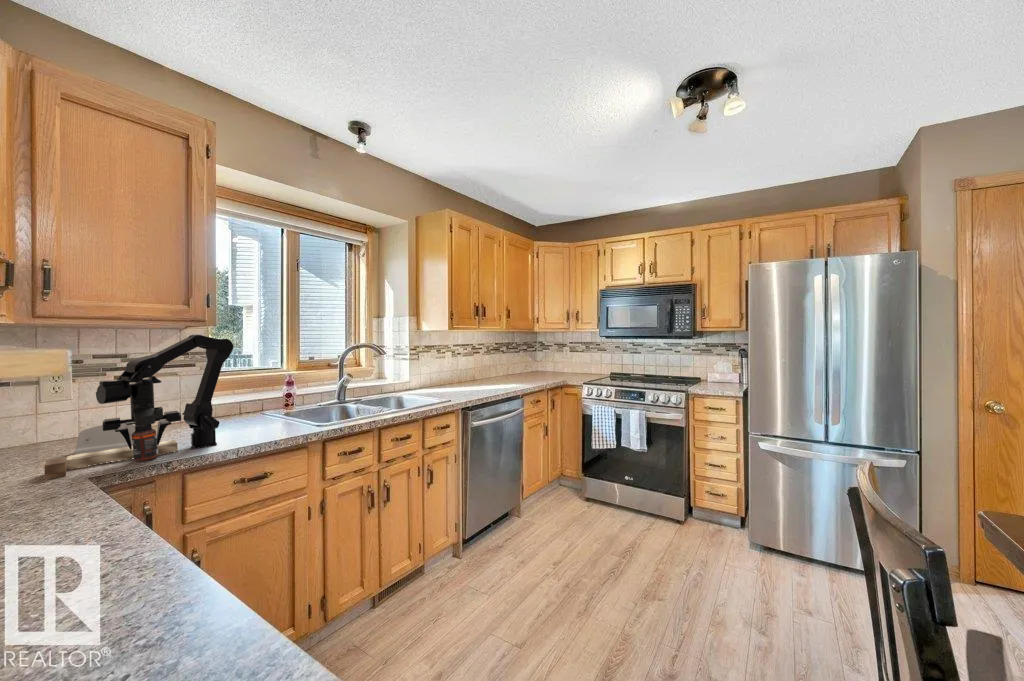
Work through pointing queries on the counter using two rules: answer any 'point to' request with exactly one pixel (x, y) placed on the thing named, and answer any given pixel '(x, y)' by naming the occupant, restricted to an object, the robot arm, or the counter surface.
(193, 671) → the counter surface
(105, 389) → the robot arm
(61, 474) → the walnut block
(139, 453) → the supplement bottle
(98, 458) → the maple board
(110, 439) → the grey curved bracket
